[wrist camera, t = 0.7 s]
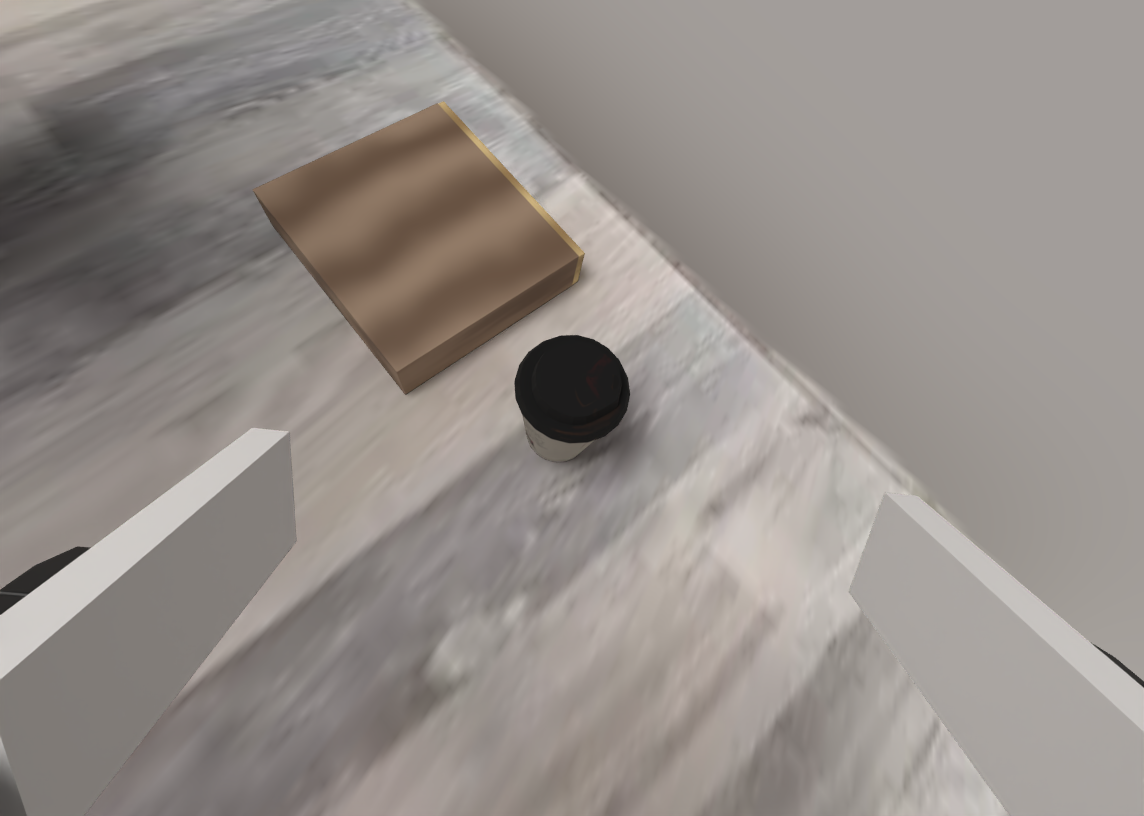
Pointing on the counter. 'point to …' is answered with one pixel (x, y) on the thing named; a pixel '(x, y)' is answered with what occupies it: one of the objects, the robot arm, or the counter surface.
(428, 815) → the counter surface
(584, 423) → the coffee cup
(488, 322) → the brown flat square block
